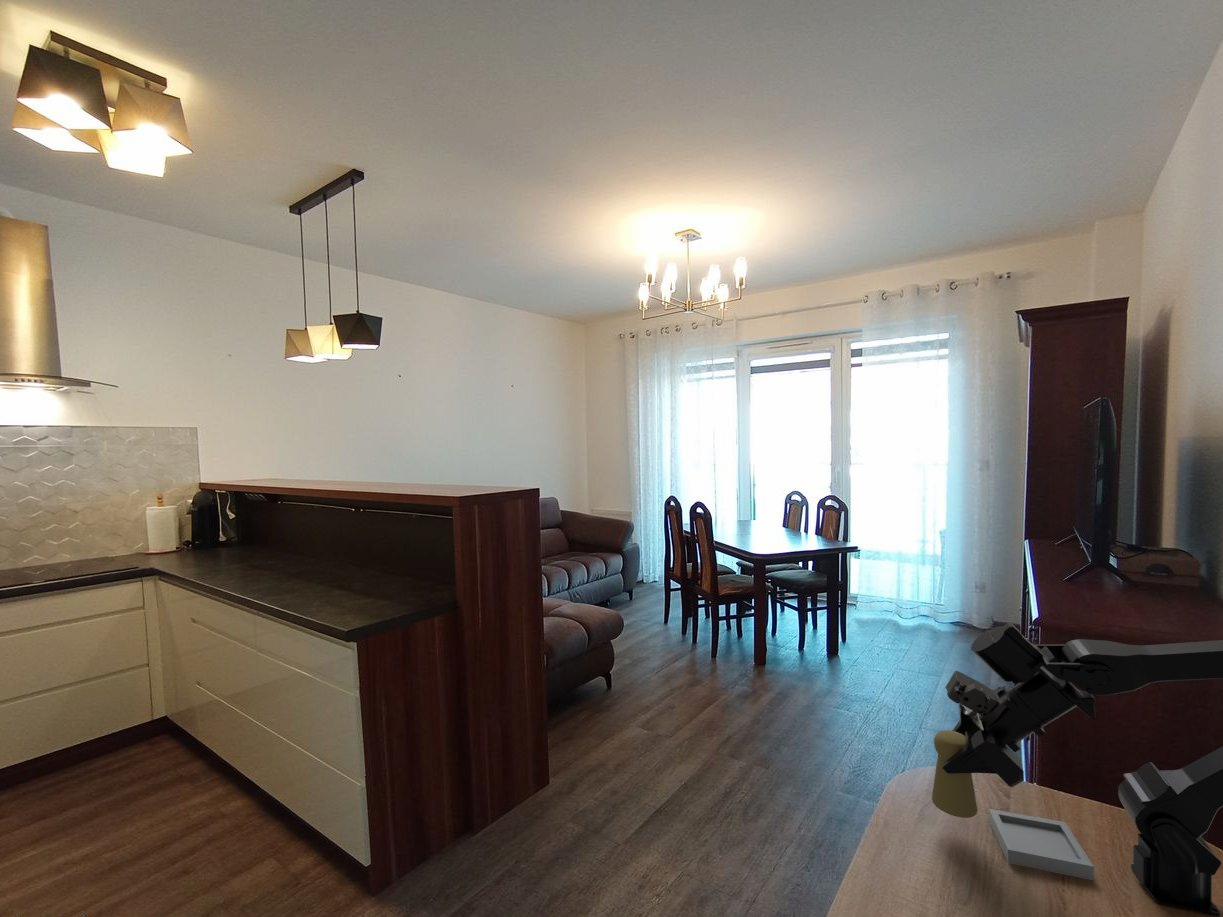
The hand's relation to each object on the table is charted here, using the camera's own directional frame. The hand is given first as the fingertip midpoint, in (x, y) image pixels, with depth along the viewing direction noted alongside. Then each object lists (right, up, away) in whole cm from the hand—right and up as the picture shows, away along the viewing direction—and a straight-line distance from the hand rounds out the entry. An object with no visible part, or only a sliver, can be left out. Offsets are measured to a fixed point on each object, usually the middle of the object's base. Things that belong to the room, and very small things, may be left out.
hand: (943, 760), depth 84 cm
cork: (+1, -7, 0) cm, 7 cm away
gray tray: (+12, -11, -4) cm, 17 cm away
